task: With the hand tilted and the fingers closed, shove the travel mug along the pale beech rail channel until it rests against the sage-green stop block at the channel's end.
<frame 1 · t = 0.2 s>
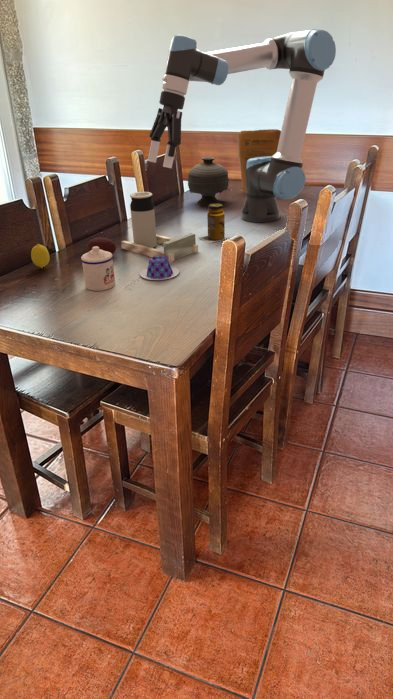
hand: (159, 164, 169), 28 cm above the table, tool tilted 20°, fingers open, 13 cm apart
pudding: (159, 275, 162), on the table
pot: (208, 203, 235), on the table
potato: (102, 256, 178), on the table
rail channel: (159, 250, 181), on the table
teacup with lid: (102, 284, 156), on the table
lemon: (42, 268, 170), on the table
pancake mix bag: (258, 193, 249), on the table
travel mug: (145, 246, 185), on the table
condiment: (214, 239, 190), on the table
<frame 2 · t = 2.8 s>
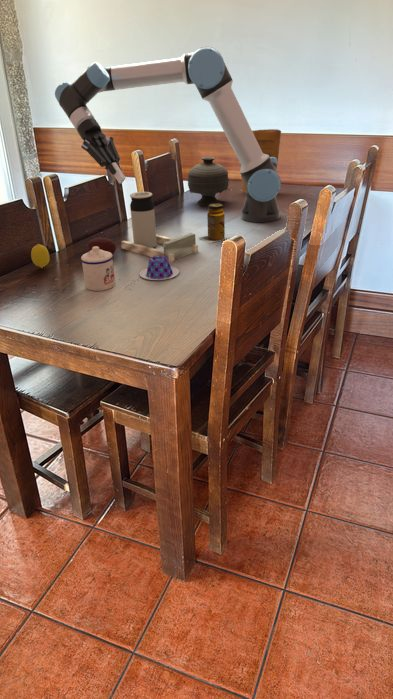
hand: (122, 180, 180), 21 cm above the table, tool tilted 45°, fingers closed
nothing on the table moved.
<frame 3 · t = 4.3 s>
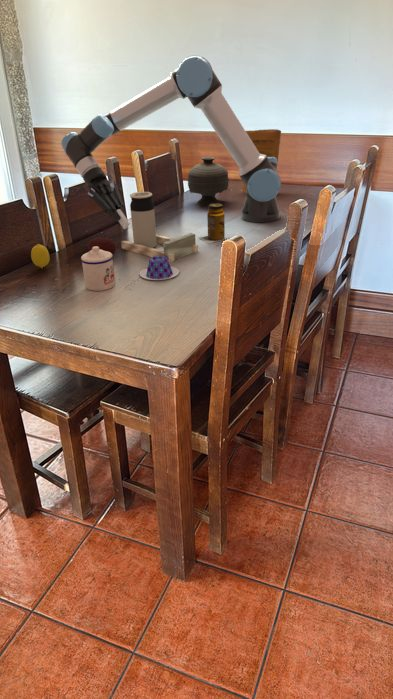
hand: (126, 226, 188), 6 cm above the table, tool tilted 45°, fingers closed
nothing on the table moved.
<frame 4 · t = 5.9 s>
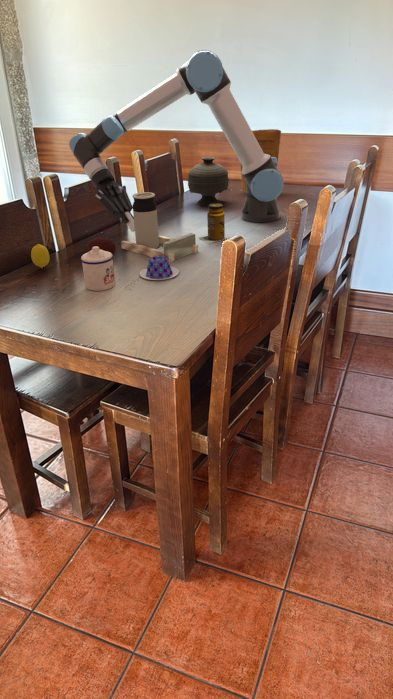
hand: (135, 229, 184), 6 cm above the table, tool tilted 45°, fingers closed
travel mug: (148, 247, 185), on the table, touching gripper
everything else where it was.
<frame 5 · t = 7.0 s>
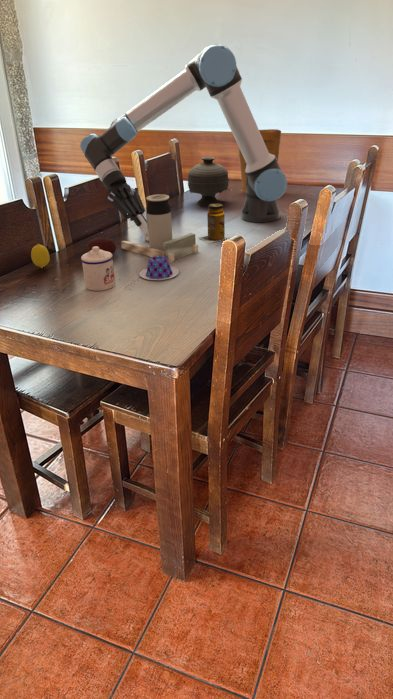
hand: (147, 232, 181), 6 cm above the table, tool tilted 45°, fingers closed
travel mug: (161, 250, 181), on the table, touching gripper
everything else where it was.
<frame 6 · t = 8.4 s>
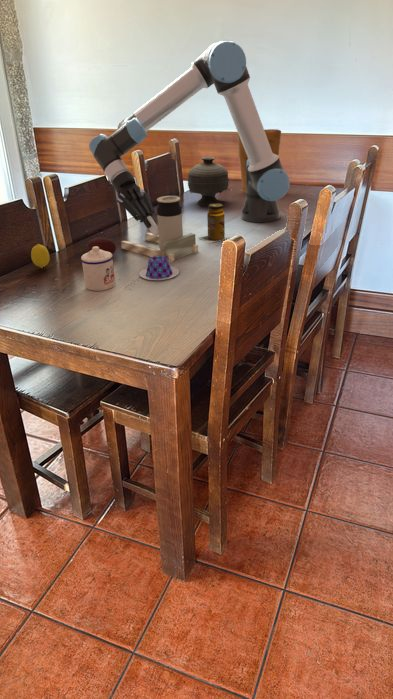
hand: (157, 234, 178), 6 cm above the table, tool tilted 45°, fingers closed
travel mug: (171, 252, 179), on the table, touching gripper, rail channel
everything else where it was.
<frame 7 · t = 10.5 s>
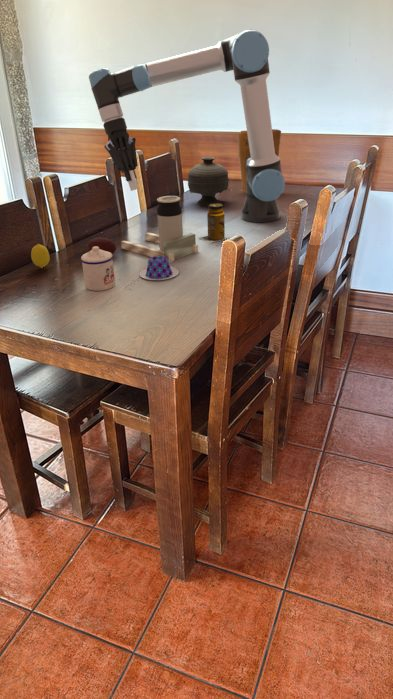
hand: (134, 189, 187), 17 cm above the table, tool tilted 15°, fingers closed
travel mug: (171, 252, 179), on the table
everything else where it was.
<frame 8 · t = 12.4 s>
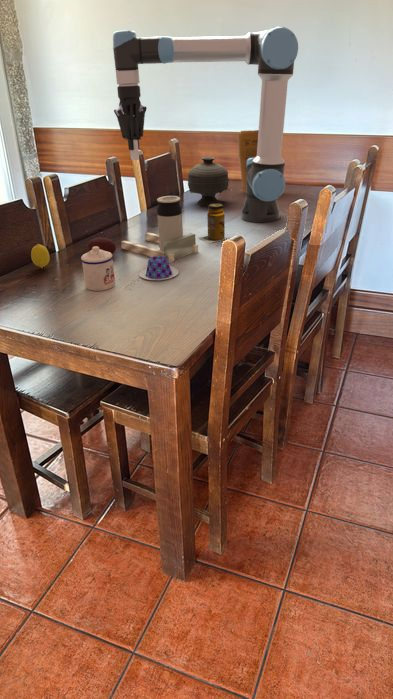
hand: (135, 159, 187), 26 cm above the table, tool pointing down, fingers closed
nothing on the table moved.
at the end: travel mug inside the target area (1.3 cm from its centre), on the table; travel mug tilted 0°; travel mug moved 12.0 cm from its start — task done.
